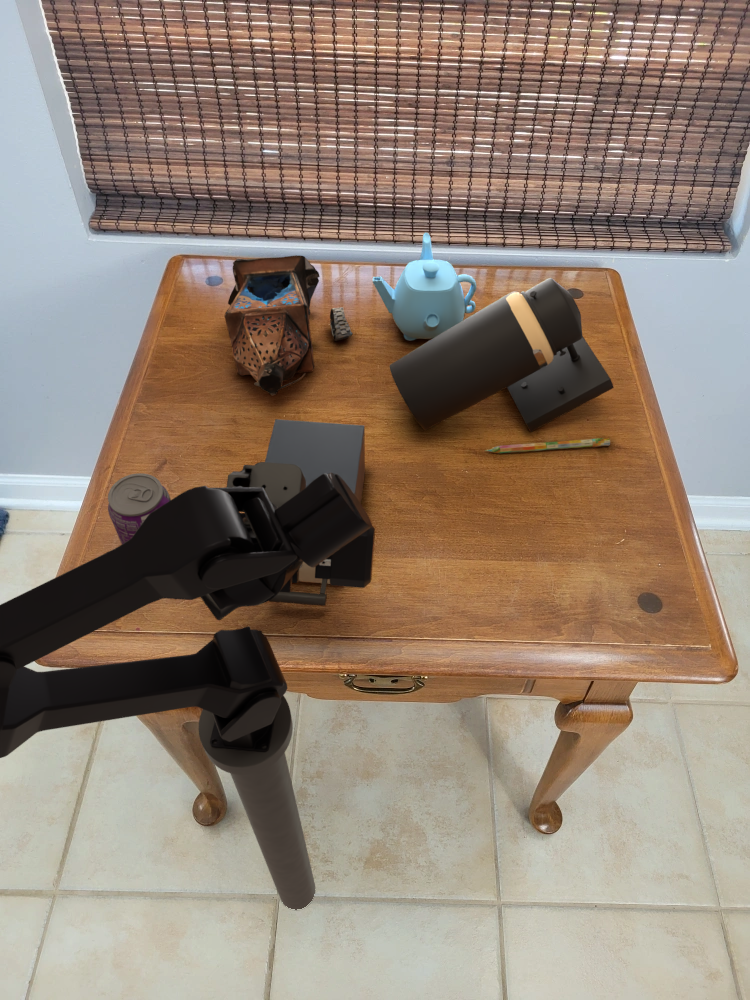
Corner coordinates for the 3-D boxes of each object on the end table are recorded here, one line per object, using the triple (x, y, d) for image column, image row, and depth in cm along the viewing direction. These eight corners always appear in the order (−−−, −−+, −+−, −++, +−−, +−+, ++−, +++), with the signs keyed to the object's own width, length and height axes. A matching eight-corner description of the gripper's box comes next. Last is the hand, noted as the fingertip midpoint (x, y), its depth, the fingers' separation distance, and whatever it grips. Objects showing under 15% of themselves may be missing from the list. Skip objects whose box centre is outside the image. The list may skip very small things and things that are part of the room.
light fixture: (379, 344, 109) (544, 246, 103) (428, 413, 122) (577, 330, 116) (403, 407, 101) (584, 305, 95) (453, 473, 114) (614, 387, 108)
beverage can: (192, 533, 99) (173, 472, 90) (177, 579, 95) (156, 520, 85) (138, 528, 100) (114, 467, 90) (121, 574, 95) (94, 515, 86)
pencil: (484, 456, 108) (609, 447, 109) (485, 451, 107) (611, 442, 108) (483, 449, 109) (607, 441, 110) (484, 444, 108) (608, 435, 109)
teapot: (363, 321, 127) (362, 261, 118) (422, 287, 133) (426, 228, 124) (428, 367, 120) (433, 307, 111) (488, 330, 126) (497, 270, 117)
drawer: (340, 615, 91) (338, 579, 85) (253, 607, 91) (245, 571, 85) (355, 505, 101) (354, 466, 95) (277, 499, 102) (271, 460, 96)
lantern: (273, 343, 133) (274, 443, 116) (199, 284, 123) (189, 384, 106) (342, 285, 126) (354, 383, 109) (270, 218, 116) (271, 313, 99)
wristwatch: (330, 343, 125) (336, 338, 121) (327, 311, 125) (333, 305, 120) (349, 342, 126) (355, 337, 121) (346, 310, 126) (352, 304, 121)
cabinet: (354, 554, 97) (352, 507, 90) (263, 547, 98) (255, 500, 90) (364, 474, 106) (364, 425, 98) (281, 468, 106) (275, 418, 99)
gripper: (374, 479, 67) (382, 468, 82) (163, 462, 68) (211, 455, 83) (365, 604, 68) (375, 570, 83) (158, 586, 69) (206, 556, 84)
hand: (292, 535), depth 84 cm, fingers open, 6 cm apart
